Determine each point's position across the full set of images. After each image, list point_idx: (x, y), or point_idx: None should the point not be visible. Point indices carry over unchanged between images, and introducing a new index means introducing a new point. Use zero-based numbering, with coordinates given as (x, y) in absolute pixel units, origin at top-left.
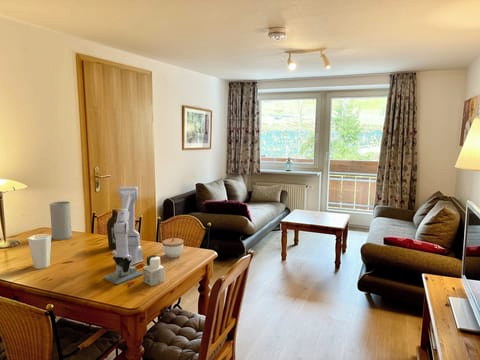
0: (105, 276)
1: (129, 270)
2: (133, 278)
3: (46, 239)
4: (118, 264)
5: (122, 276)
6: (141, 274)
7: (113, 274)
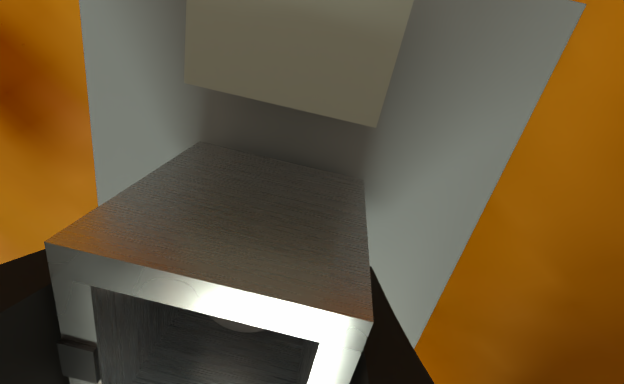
0: (550, 47)
1: None
2: None
3: None
4: (316, 367)
5: None
6: None
7: (269, 16)
